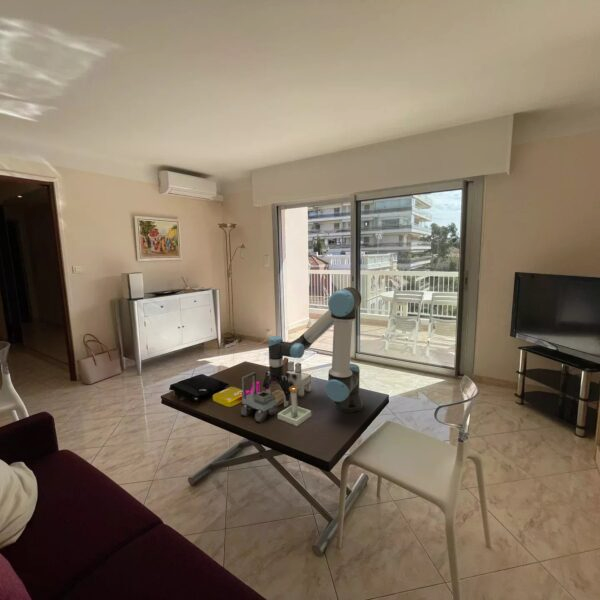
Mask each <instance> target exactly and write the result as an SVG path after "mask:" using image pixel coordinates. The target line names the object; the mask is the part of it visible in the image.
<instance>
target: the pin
mask: <svg viewBox="0 0 600 600" xmlns="http://www.w3.org/2000/svg"><path fill="white" fill-rule="evenodd" d="M289 391H291V394H290V406H291V417H292V418H297V417H298V410H297V406H298V386H290V387H289Z"/></svg>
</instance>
